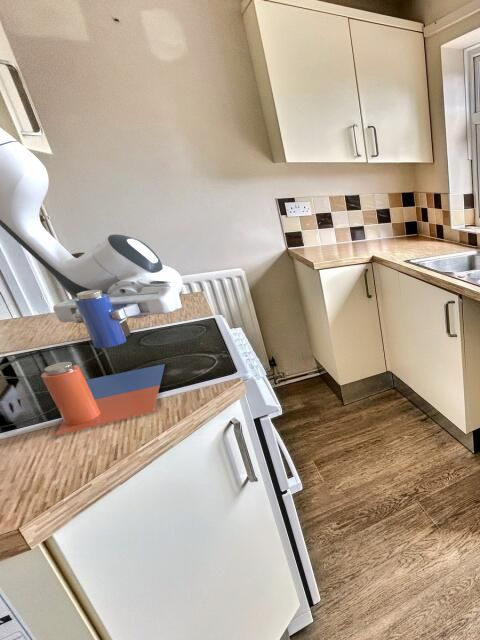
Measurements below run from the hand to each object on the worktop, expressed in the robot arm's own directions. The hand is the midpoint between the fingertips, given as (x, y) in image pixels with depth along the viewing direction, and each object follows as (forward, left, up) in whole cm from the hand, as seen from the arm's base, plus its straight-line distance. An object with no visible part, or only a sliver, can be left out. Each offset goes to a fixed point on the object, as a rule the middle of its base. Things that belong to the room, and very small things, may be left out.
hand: (96, 317), depth 83 cm
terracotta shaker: (-5, -9, -16) cm, 20 cm away
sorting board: (-1, -1, -17) cm, 17 cm away
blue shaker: (0, +1, -6) cm, 6 cm away
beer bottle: (-8, +44, -17) cm, 48 cm away
